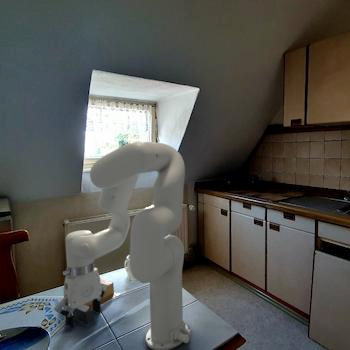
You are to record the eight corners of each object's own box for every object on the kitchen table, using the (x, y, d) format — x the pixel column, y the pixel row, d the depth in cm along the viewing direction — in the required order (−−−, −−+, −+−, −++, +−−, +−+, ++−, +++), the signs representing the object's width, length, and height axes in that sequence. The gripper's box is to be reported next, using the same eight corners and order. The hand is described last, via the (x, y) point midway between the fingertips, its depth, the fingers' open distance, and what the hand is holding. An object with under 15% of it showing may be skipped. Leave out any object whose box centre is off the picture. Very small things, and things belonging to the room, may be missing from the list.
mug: (132, 271, 124) (131, 250, 123) (152, 276, 120) (151, 253, 119) (117, 279, 116) (116, 256, 115) (138, 284, 112) (137, 260, 111)
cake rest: (114, 293, 103) (113, 282, 103) (103, 298, 99) (102, 287, 99) (98, 287, 108) (98, 276, 108) (87, 292, 104) (87, 281, 104)
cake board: (121, 296, 103) (120, 294, 103) (90, 312, 92) (90, 310, 92) (99, 288, 109) (99, 285, 109) (68, 302, 99) (68, 300, 99)
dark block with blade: (94, 323, 87) (93, 309, 86) (87, 327, 84) (86, 312, 84) (67, 309, 94) (66, 296, 94) (60, 313, 92) (59, 300, 91)
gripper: (58, 282, 76) (61, 338, 78) (112, 261, 92) (115, 308, 93) (44, 277, 80) (48, 331, 81) (99, 257, 95) (102, 302, 97)
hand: (84, 318), depth 87 cm, fingers open, 8 cm apart
